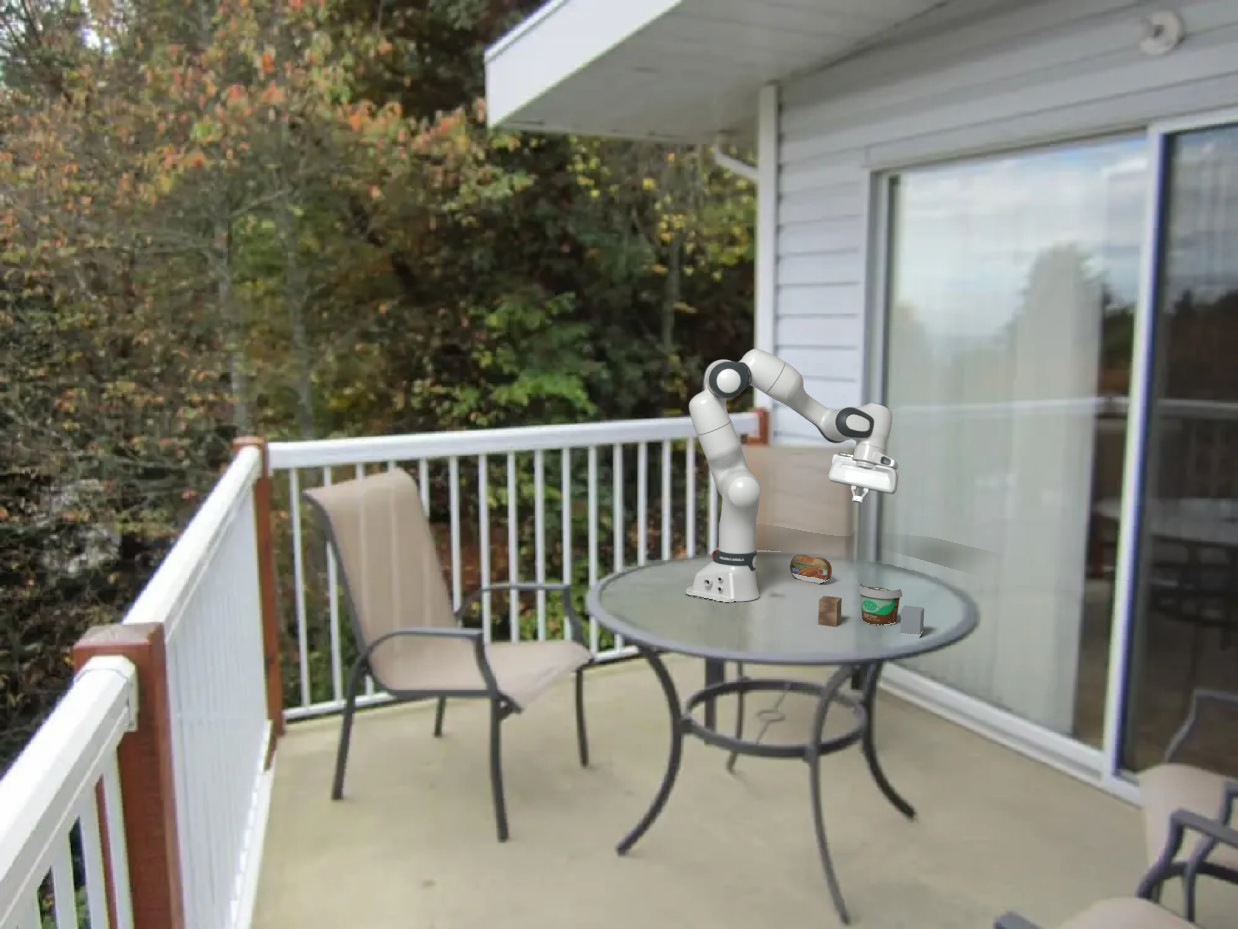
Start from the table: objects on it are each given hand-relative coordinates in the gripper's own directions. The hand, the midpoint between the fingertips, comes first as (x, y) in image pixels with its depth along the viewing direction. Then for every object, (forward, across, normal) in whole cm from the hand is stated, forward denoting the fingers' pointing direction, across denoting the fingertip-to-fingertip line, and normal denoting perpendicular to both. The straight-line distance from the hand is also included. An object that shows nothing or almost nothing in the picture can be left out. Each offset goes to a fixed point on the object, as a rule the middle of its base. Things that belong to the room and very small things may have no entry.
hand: (857, 502), depth 292 cm
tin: (+26, -14, +24) cm, 38 cm away
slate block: (+33, +27, -20) cm, 47 cm away
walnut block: (+36, +5, -19) cm, 41 cm away
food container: (+33, +16, -14) cm, 39 cm away
